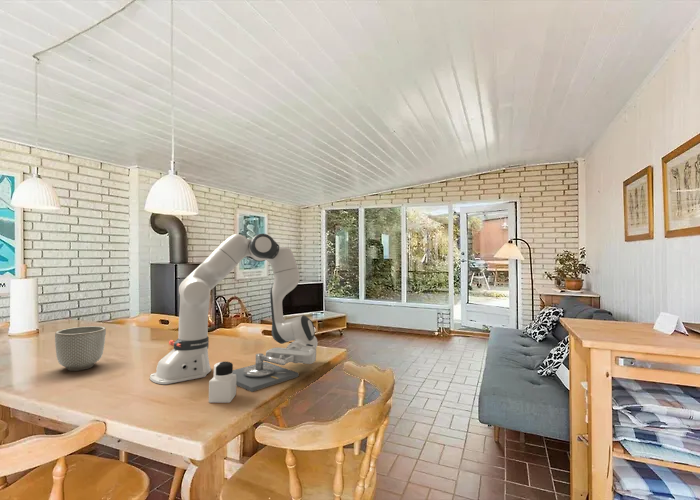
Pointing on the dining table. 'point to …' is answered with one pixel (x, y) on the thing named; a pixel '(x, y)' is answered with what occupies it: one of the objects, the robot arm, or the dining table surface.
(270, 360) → the capstan dial
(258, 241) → the robot arm
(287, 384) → the dining table surface
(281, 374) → the base plate
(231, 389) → the medicine bottle
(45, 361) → the dining table surface
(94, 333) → the planter
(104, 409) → the dining table surface
